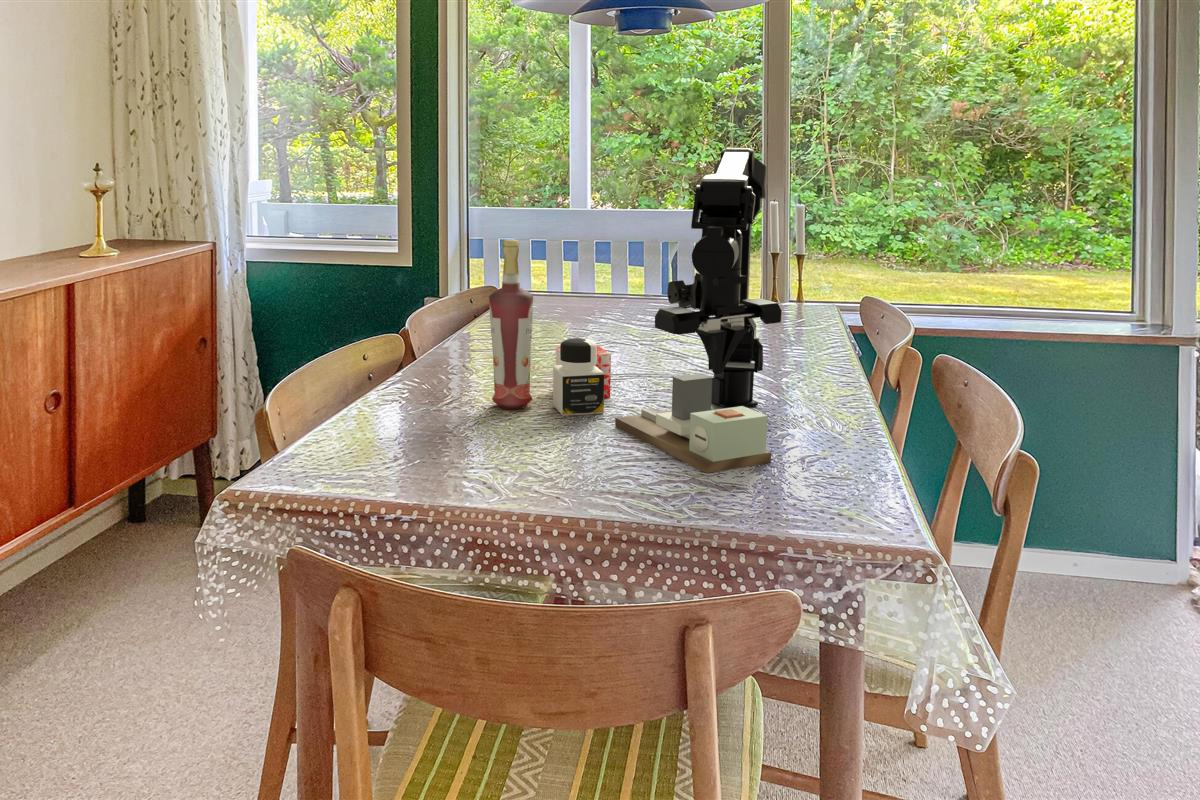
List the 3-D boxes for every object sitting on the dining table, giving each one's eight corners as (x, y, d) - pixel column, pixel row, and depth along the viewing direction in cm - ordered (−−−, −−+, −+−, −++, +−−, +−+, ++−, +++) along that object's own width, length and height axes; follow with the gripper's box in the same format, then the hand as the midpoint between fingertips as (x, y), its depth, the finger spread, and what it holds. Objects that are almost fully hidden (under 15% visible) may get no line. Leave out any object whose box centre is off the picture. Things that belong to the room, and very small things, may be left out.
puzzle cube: (555, 390, 191) (555, 347, 189) (597, 387, 193) (597, 345, 191) (567, 400, 183) (567, 356, 181) (610, 397, 186) (611, 353, 184)
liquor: (532, 412, 175) (531, 243, 168) (488, 411, 175) (485, 242, 168) (535, 401, 182) (534, 238, 175) (493, 400, 182) (490, 238, 175)
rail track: (673, 418, 172) (674, 404, 171) (770, 462, 150) (771, 445, 149) (615, 426, 167) (615, 411, 166) (706, 473, 145) (707, 455, 144)
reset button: (730, 435, 151) (731, 409, 150) (741, 441, 148) (742, 413, 147) (714, 438, 150) (715, 411, 149) (725, 443, 147) (726, 415, 146)
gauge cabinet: (740, 442, 154) (742, 406, 153) (765, 453, 149) (767, 415, 148) (686, 450, 150) (687, 413, 148) (710, 462, 145) (711, 423, 143)
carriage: (700, 423, 162) (702, 369, 160) (726, 434, 156) (728, 379, 154) (655, 429, 159) (657, 374, 157) (680, 441, 153) (682, 384, 151)
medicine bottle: (562, 416, 173) (562, 345, 170) (552, 406, 179) (552, 336, 176) (604, 414, 174) (605, 343, 172) (592, 403, 181) (593, 335, 178)
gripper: (740, 255, 161) (736, 355, 165) (635, 264, 152) (634, 369, 156) (786, 265, 151) (781, 370, 155) (677, 275, 143) (674, 386, 147)
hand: (717, 373), depth 154 cm, fingers closed
